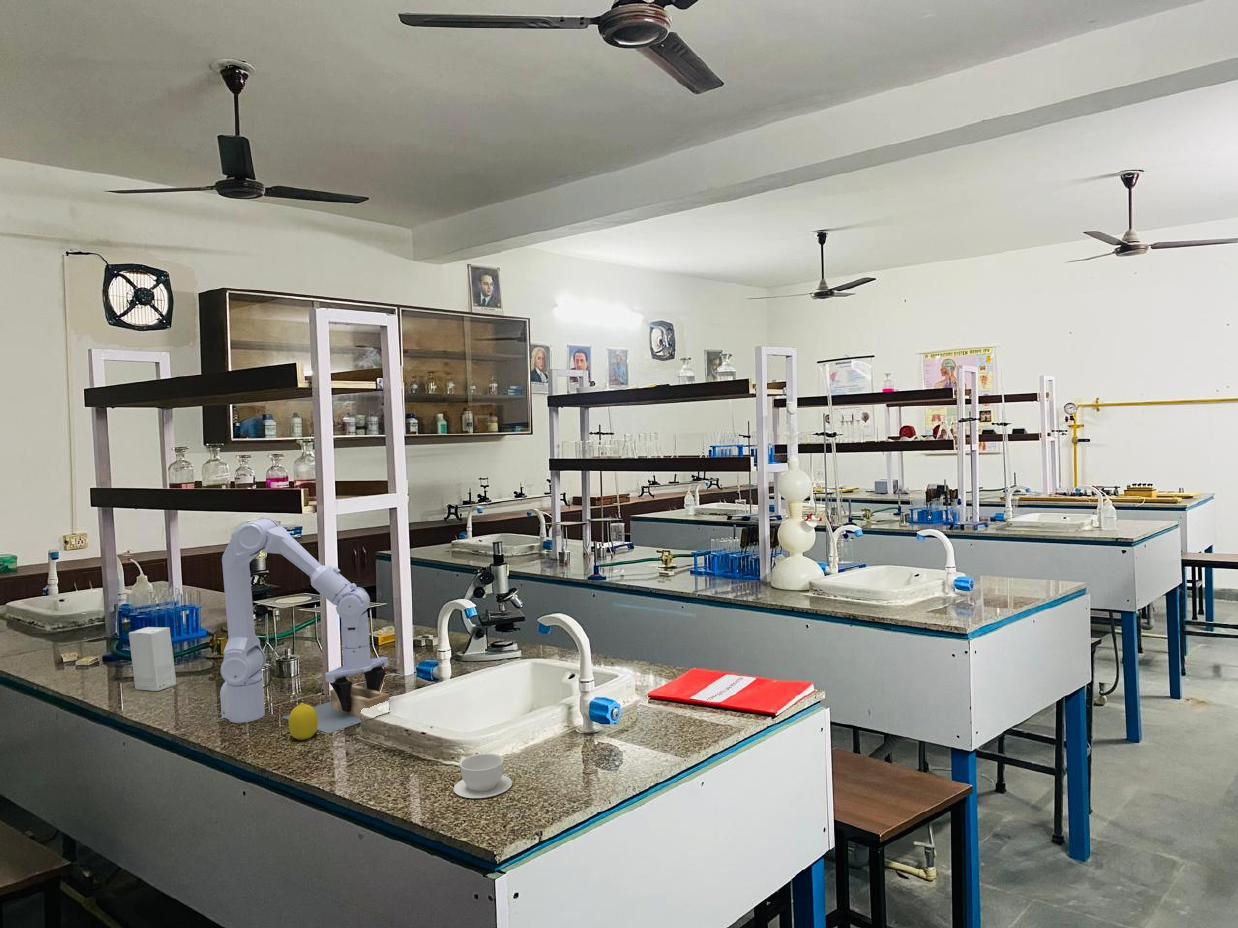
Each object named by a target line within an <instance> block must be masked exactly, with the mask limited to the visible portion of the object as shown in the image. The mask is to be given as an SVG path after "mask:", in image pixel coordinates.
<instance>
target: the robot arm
mask: <svg viewBox="0 0 1238 928" xmlns="http://www.w3.org/2000/svg"><path fill="white" fill-rule="evenodd" d="M230 537H231V539H230V541H229V542H228V544H227V546H226V548H225V551H224V552H223V554H222V557H221V564H222V574H223V588H224V590H223V591H224V598H225V599H224V601H225V611H226V612H225V613H226V624H227V636H228V637H227V642H226V645H225V647H224V650H223V661H222V663H221V666H220V675H221V677H222V679H223V680H224V682H223V684H222V686H221V688H220V692H219V696H220V710H221V712H220V713H221V718H219V720H221V719H227V720H228V721H229V722H230V723H235V724H236V723H237V724H240V723H248V722H254V721H257V720H259V719H261V718H264V716H265V715H266V709H265V697H264V696H265V695H264V681H263V674H262V669H263V668H264V667H265V665H266V662H267V661H266V660H267V659H266V654H265V652H264V651H263V649H262V647H261V640H260V639H259V637H258V636H257V635H256V630H255V617H254V603H253V593H252V581H251V580H252V579H251V569H250V568H251V567H250V563H251V561H253V560H254V559H255V558H256V557H257V556H258V555H259V554H260V553H261V552H263V553H267V554H278V555H282V556H283V557H284V558H286V559H287V560H288V561H289V562H290V563H292V564H293V565H295V566H296V567H297V568H298V569H300V570H301V572H303V573H305V574H306V575H307V576H309V578H310V585H311V586H312V588H314V589H315V590H316V591H317V592H318V593H319V594H320V595H322V597H324V598H325V599H326V600H327V601H328V602H330V603H331V604H332V605H334V606H335V610H336V613H337V615H338V616H339V617H340V622H341V623H340V624H341V625H340V628H341V631H340V632H341V647H342V663H343V665H342V666H339V667H337V668H335V669H333V670H330V671H328V672H327V671H326V672H325V674H324V676H325V682H326V683H329V685H330V686H331V688H333V689H334V690H335V692H336V694H337V696H338V698H339V701H340V704H341V707H342V710H343V711H345V712H350V711H351V698H350V696H351V687H352V684H353V681H349V679H348V678H349V677H354V676H357V675H359V674H363V675H364V680H365V683H366V688H368V689H371V690H375V691H379V692H380V688H381V685H382V682H383V680H384V678H385V676H386V675H387V673H386V671H387V670H386V669H385V668H388V667H389V659H388V657H386V656H380V657H376V658H371V645H370V644H371V643H370V642H371V641H370V627H369V626H370V625H369V619H368V618H369V617H368V615H369V614H368V611H367V610H368V608H369V607H370V604H371V598H370V596H369V594H368V592H367V591H366V589H364V588H363V587H359V586H358V587H357V584H356V583H354V582H353V583H351V582H350V581H349V580H348V579H347V578H346V577H344V576H343V574H341V573H340V572H341V569H339V568H338V566H335V567H333V566H332V565H322V564H321V563H320V562H319V561H318V560H317V559H316V558H315V557H313V556H312V554H310V552H309V551H307V550H306V549H305V548H304V547H303V546H302V544H300V543H299V542H298V541H297V540H296V539H295V538H294V537H293V536H291V534H290V533H289V532H288V530H287V529H286V528H285V527H283V526H281V525H279V524H278V523H277V522H276V521H275V520H274V519H272V518H269V517H261V518H259V519H257V520H253V521H249V522H245V523H242V524H241V525H239V527H238V528H236V529H235V530H234V531H232V532H231V535H230ZM333 689H332V690H333Z"/></svg>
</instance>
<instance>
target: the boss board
mask: <svg viewBox="0 0 1238 928" xmlns="http://www.w3.org/2000/svg"><path fill="white" fill-rule="evenodd" d="M312 707H313V708H314V710H315V711H316V714H317V717H318V727H317V730H318V731H320V732H322V733H326V734H331V733H335V732H336V731H340V730H343V729H345V728H348V727H351V726H354V725H357V724H360V723H362V722H361V720H360V717H358V716H354V715H351V714H348V713H345V712H341V711H338V710H335V709H332V708H331V701H328V702H326V703H322V704H319V705H316V706H312ZM289 716H290V714H288V715H284V716H281V718H283V719H285V720H287V721H289ZM317 730H316V731H317Z"/></svg>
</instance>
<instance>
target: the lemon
mask: <svg viewBox="0 0 1238 928" xmlns="http://www.w3.org/2000/svg"><path fill="white" fill-rule="evenodd" d="M313 707H314V706H311V705H310V704H306V703H304V702H301V703H299V704H298V705H297V706H295V707H294V708H293V709H292V710H291V711H290V714H289V715H290V716H289V720H288V730H289V733H290V735H291V736H292V737H293V738H294V739H296V740H299V741H304V740H308V739H310V738H312V737H314V735H315V733H316V732H317V727H318V717H317V714H316V711H315V710H314V708H313Z"/></svg>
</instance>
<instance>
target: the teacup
mask: <svg viewBox="0 0 1238 928" xmlns="http://www.w3.org/2000/svg"><path fill="white" fill-rule="evenodd" d="M503 757H504V756H503ZM503 757H502V756H501V755H499V754H496V753H489V752H487V753H485V752H484V753H477V754H473V755H470V756H467V757H465V758H463V759H462V760H461V761H460V763H459V769H460V773H461V778H462V779H461V780H459V781H458V782H456V783H455V785H453V786H454V787H453V792H454V793H455V795H457V796H459V797H463V798H466V799H468V798H469V799H484V798H491V797H494V796H498V795H500V794H503V793H505V792H506V791H508V790H509V789H510V788H512V785H513V780H512V778H510V777H509V776H506V775H504V773H503V772H504V758H503Z"/></svg>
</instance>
